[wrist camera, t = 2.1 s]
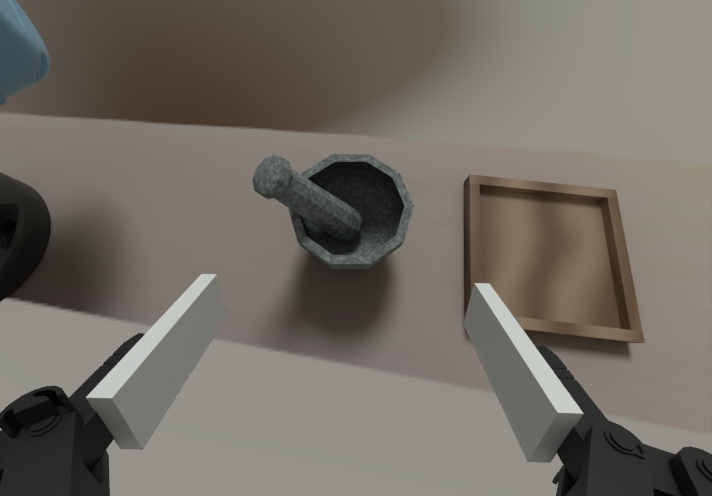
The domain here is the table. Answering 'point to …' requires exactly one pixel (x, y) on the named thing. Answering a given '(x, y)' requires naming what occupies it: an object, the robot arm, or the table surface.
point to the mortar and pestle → (341, 207)
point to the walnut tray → (551, 256)
